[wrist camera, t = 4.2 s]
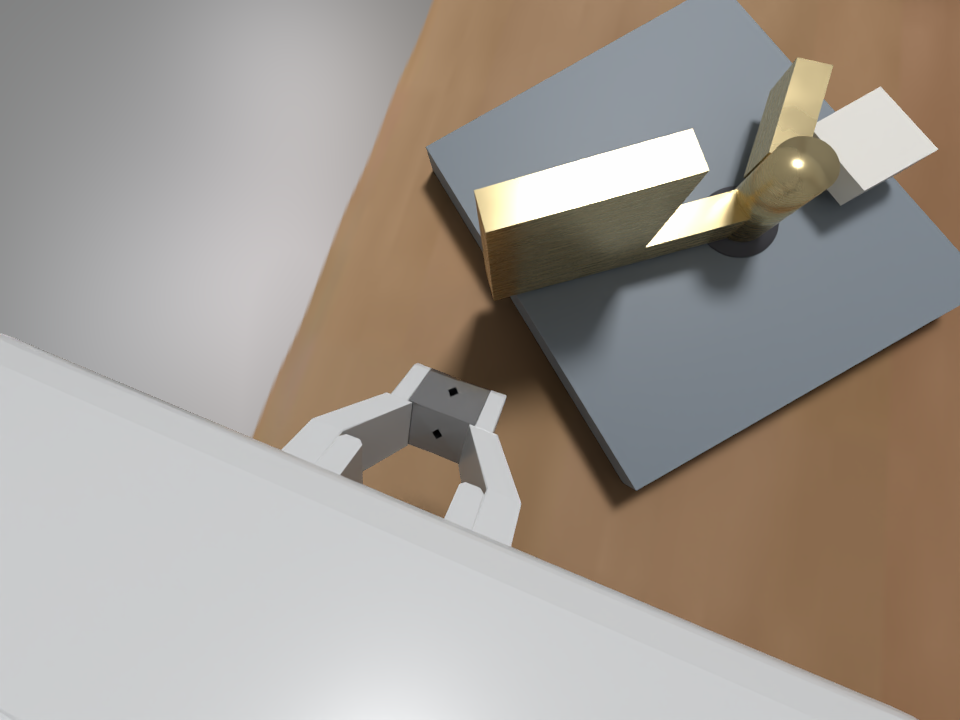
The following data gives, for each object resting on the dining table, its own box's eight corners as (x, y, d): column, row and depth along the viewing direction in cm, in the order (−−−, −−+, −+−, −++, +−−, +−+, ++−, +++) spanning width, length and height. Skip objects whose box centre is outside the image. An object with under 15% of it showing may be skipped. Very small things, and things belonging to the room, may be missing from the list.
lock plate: (701, 18, 23) (720, -21, 21) (941, 300, 19) (993, 286, 17) (432, 169, 23) (425, 145, 21) (623, 483, 19) (637, 491, 17)
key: (775, 95, 19) (929, -89, 12) (851, 184, 18) (1068, 39, 11) (473, 266, 19) (453, 179, 12) (532, 365, 18) (548, 335, 11)
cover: (856, 107, 18) (880, 86, 17) (909, 166, 18) (938, 149, 17) (790, 144, 18) (809, 126, 17) (840, 205, 18) (864, 190, 17)
